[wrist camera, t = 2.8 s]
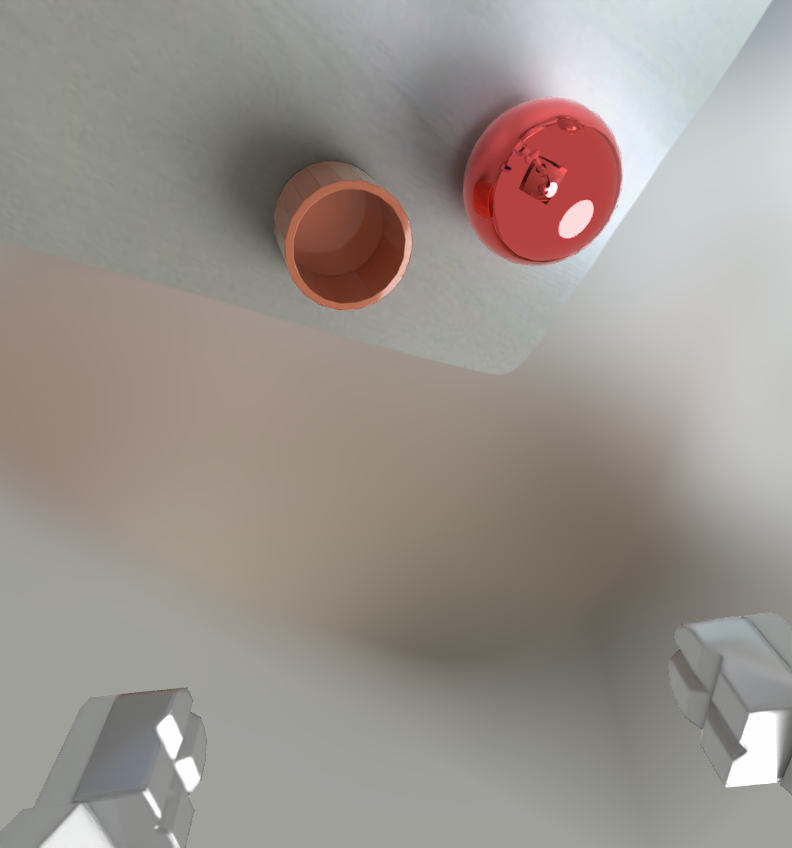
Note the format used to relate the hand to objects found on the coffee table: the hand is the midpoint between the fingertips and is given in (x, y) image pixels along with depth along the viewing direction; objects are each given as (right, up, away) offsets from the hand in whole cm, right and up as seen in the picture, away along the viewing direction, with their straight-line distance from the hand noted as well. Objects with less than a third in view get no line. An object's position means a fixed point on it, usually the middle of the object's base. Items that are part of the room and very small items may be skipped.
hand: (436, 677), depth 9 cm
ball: (+9, +26, +38) cm, 47 cm away
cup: (-6, +21, +37) cm, 43 cm away
